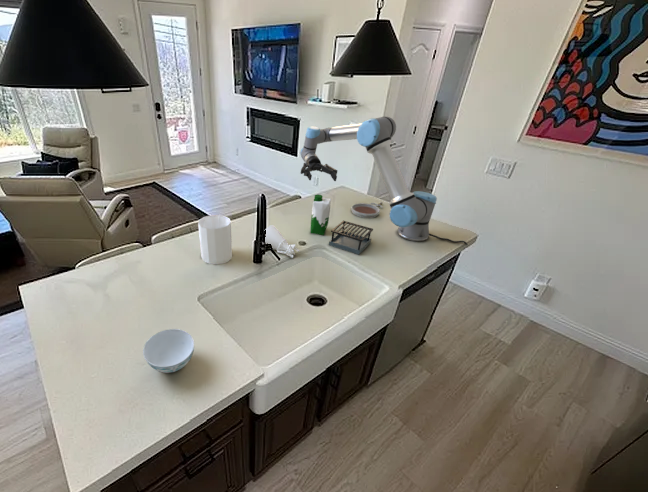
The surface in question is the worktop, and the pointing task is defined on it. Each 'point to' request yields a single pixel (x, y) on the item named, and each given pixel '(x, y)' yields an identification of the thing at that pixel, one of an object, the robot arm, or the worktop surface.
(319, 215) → the soya milk
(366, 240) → the dish rack
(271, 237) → the rocket engine
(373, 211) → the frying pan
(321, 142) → the robot arm
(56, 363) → the worktop surface
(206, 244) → the container
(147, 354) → the chinaware
